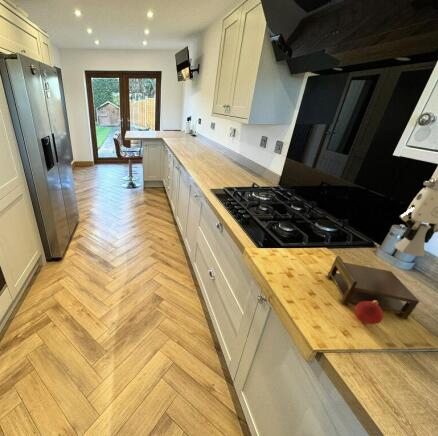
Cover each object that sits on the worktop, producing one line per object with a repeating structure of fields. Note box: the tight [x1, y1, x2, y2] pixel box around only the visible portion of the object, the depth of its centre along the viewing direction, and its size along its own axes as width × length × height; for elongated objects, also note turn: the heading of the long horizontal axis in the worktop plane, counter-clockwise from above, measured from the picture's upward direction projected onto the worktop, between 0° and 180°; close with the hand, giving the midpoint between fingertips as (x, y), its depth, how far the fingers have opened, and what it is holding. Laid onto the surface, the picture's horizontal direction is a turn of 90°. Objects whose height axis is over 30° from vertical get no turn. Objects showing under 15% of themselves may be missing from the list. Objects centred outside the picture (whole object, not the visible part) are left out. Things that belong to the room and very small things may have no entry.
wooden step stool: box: [326, 255, 420, 320], centre depth 75 cm, size 16×14×9 cm
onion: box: [354, 300, 385, 325], centre depth 65 cm, size 6×6×8 cm
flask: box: [394, 222, 431, 257], centre depth 78 cm, size 7×7×10 cm
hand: (415, 239), depth 78 cm, fingers closed on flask, 3 cm apart
